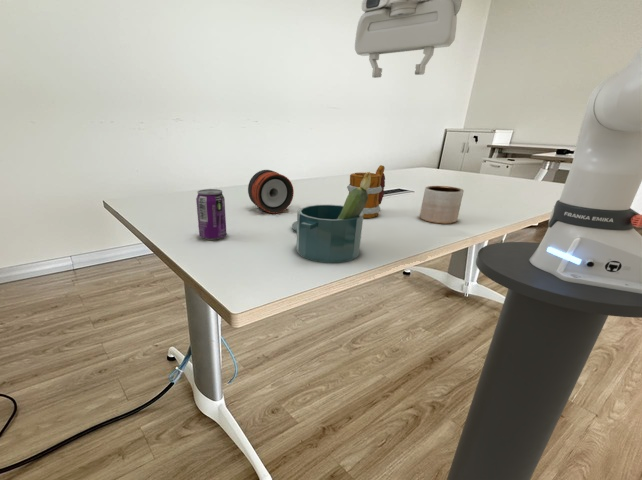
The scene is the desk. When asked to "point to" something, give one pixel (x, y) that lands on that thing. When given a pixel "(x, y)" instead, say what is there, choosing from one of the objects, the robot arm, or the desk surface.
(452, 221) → the planter
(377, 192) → the mug
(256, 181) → the oil filter
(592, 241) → the robot arm
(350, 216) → the vegetable
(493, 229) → the desk surface
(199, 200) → the beverage can
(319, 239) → the pot
